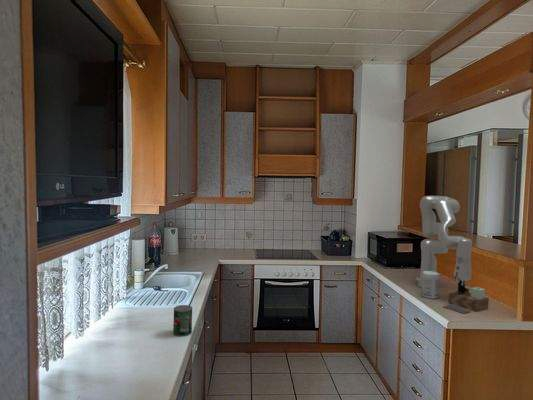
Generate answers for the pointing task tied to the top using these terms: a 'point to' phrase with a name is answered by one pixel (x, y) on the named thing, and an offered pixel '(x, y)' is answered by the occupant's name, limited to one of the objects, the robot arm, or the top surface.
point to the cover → (477, 293)
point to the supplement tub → (430, 284)
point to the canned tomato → (182, 320)
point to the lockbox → (468, 301)
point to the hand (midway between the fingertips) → (461, 291)
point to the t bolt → (467, 290)
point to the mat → (457, 309)
